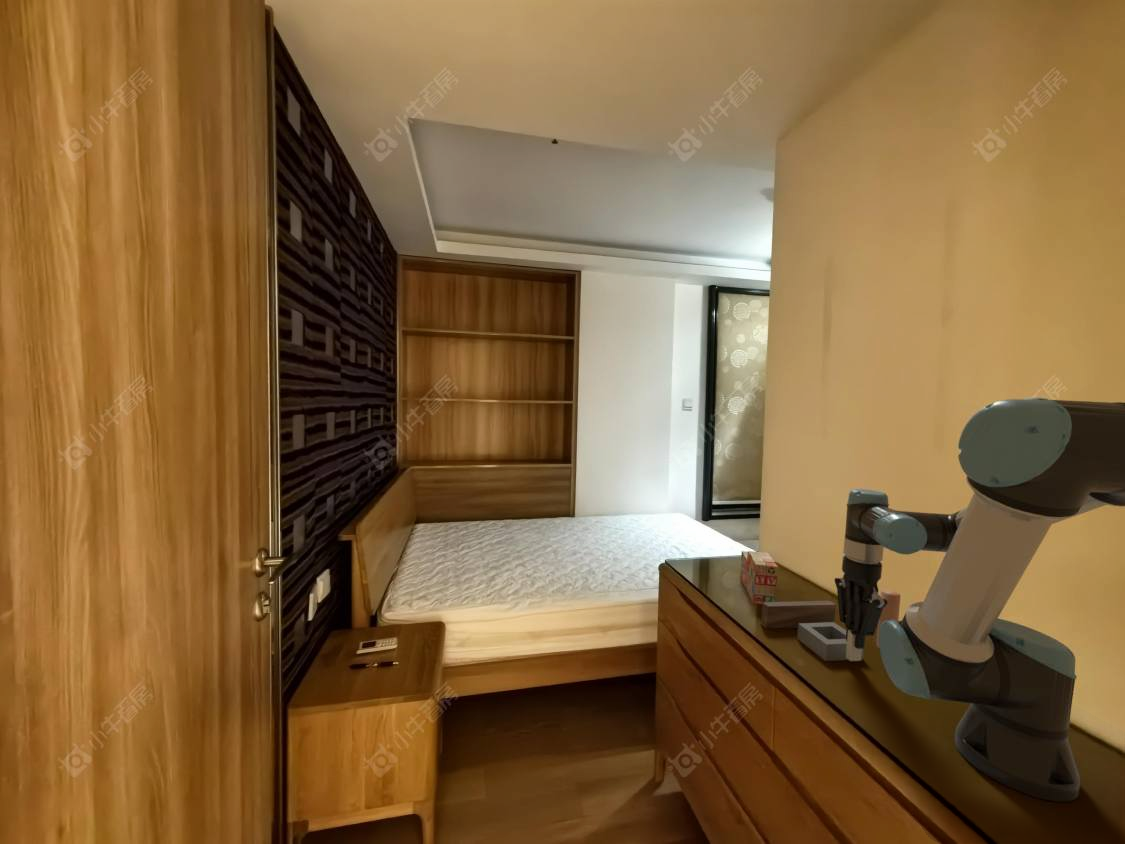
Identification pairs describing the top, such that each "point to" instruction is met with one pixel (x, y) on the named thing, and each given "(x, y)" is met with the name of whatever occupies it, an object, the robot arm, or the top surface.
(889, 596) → the dowel
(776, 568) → the stack of blocks
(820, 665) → the top surface
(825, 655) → the grey square frame
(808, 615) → the wall
